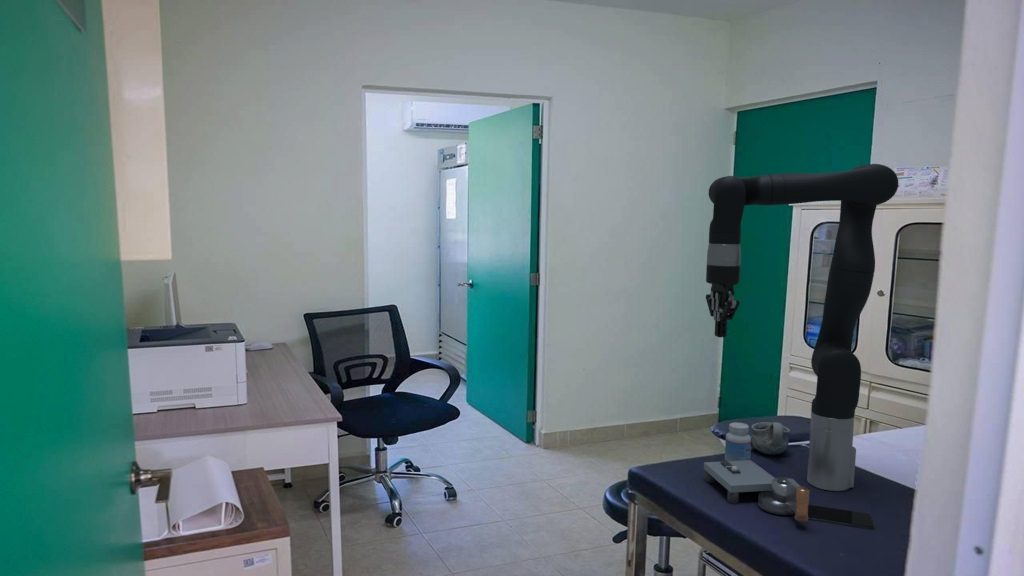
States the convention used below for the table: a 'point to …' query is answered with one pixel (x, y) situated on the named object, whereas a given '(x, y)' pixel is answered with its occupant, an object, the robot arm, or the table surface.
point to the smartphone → (841, 517)
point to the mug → (770, 437)
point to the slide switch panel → (738, 477)
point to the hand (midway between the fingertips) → (720, 336)
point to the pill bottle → (738, 443)
